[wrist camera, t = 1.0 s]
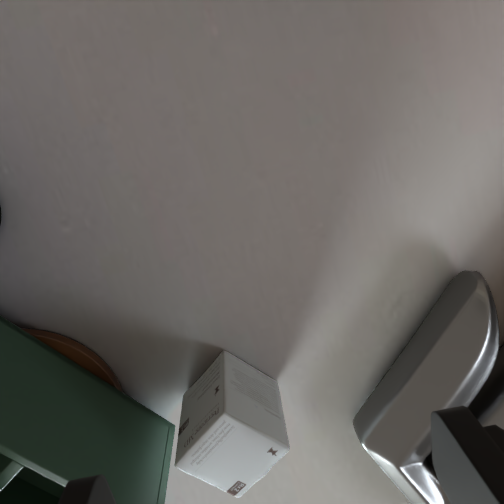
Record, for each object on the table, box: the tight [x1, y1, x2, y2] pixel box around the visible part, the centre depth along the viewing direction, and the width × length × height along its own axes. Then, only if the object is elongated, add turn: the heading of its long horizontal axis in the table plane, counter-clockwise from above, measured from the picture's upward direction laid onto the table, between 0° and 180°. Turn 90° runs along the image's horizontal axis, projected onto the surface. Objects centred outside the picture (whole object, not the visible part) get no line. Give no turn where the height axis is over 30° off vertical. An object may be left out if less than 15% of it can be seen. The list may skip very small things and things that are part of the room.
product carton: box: [175, 351, 290, 498], centre depth 32 cm, size 6×6×7 cm
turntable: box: [21, 328, 122, 392], centre depth 34 cm, size 15×15×1 cm
